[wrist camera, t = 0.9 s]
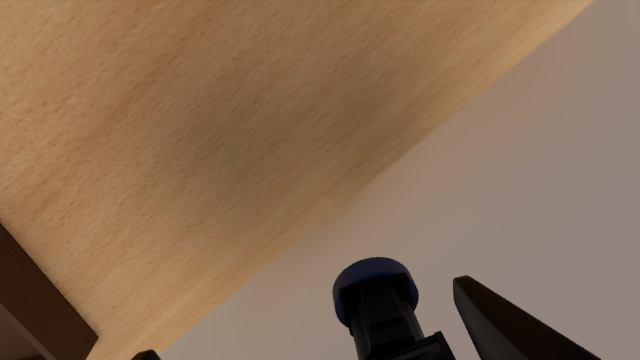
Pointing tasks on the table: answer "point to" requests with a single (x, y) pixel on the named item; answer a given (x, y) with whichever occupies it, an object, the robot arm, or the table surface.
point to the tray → (36, 312)
